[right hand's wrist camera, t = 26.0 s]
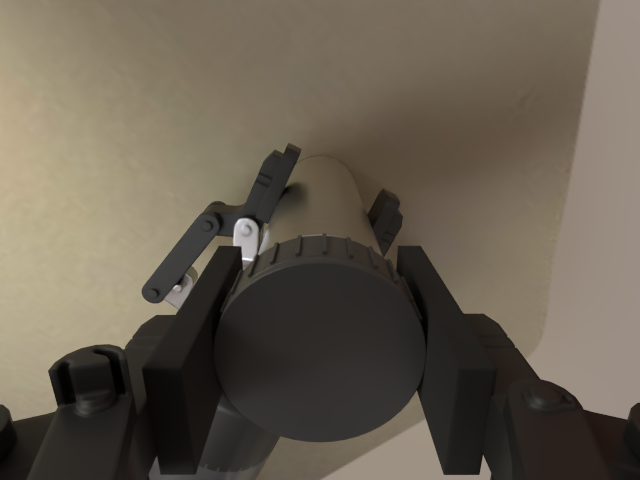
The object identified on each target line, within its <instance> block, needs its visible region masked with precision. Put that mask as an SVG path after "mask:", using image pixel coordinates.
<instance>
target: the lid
mask: <svg viewBox="0 0 640 480" xmlns="http://www.w3.org/2000/svg"><path fill="white" fill-rule="evenodd" d="M219 314H220V315H221V318H220V320H219V322H218V325H217V328H216V332H215V335H214V343H213V356H214V365H215V372H216V374H217V377H218V380H219V383H220V385H221V387H222V389H223V391H224V393H225V394H226V396H227V397H228V399H229V400H230V401H231V403H232V404H233V405H234V406H235V407H236V408H237V409H238V410H239V411H240V412H241V413H242V414H243V415H244V416H245V417H247V418H248V419H249V420H250V421H252V422H253V423H255V424H257V425H258V426H260V427H262V428H264V429H266V430H268V431H270V432H272V433H274V434H277V435H280V436H282V437H286V438H290V439H294V440H300V441H307V442H333V441H339V440H346V439H350V438H353V437H357V436H360V435H363V434H365V433H368V432H370V431H372V430H374V429H376V428H378V427H380V426H382V425H383V424H385V423H386V422H388V421H389V420H391V419H392V418H393V417H394V416H395V415H397V414H398V413H399V412H400V411H401V410H402V409H403V408H404V407H405V406H406V405H407V403H408V402H409V401H410V399H411V398H412V397H413V395H414V394H415V392H416V390H417V388H418V386H419V384H420V382H421V379H422V376H423V373H424V370H425V363H426V352H427V345H426V338H425V333H424V330H423V326H422V322H423V318H422V316H421V314H420V312H419V309H418V307H417V305H416V303H415V300H414V298H413V296H412V293H411V291H410V289H409V287H408V284H407V282H406V280H405V278H404V276H402V277H400V276H399V274H398V273H397V271H396V270H395V269H394V267H393V264H392V262H391V260H389V259H388V260H386V259H384V258H383V257H382V256H381V255H380V254H378V253H377V252H375V251H374V249H373V247H371V246H369V247H366V246H364V245H362V244H360V243H358V242H355V241H352V240H351V238H350V237H347V238H346V239H345V238H340V237H335V236H326V233H322V235H316V236H305V237H302V235H298V237H297V238H294V239H291V240H288V241H285V242H282V243H280V244H279V243H278V242H276V243H274V246H273V247H271V248H269V249H268V250H266V251H265V252H263V253H262V254H260V255H258V254H256V255H255V256H254V259H253V261H252V262H251V263H250V264H249V265H248V266H247V267H246V268H245V270H244V271H243V270H240V271H239V273H238V276H237V278H236V280H235V283H234V285H233V287H232V288H230V289H229V291H228V294H227V296H226V298H225V300H224V303H223V305H222V307H221V309H220V312H219Z"/></svg>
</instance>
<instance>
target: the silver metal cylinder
mask: <svg viewBox="0 0 640 480" xmlns="http://www.w3.org/2000/svg"><path fill="white" fill-rule="evenodd" d="M322 233H326V236H335V237H340V238H345V239H346V238H347V237H350V238H351V240H352V241H355V242H358V243H360V244H362V245H364V246H366V247H369V246H371V247H373V249H374V251H375V252H377V253H378V254H380V255H381V256H382V253H381V251H380V248H379V245H378V243H377V240H376V237H375V235H374V232H373V229H372V226H371V224H370V221H369V218H368V216H367V213H366V210H365V208H364V205H363V202H362V200H361V197H360V194H359V191H358V189H357V186H356V183H355V181H354V178H353V176H352V174H351V172H350V171H349V170H348V168H347V167H346V166H345V165H344V164H342V163H341V162H340V161H338V160H336V159H334V158H331V157H327V156H313V157H309V158H306V159H304V160H302V161H300V162H299V163H297V164H296V165H295V166H294V168H293V170H292V173H291V175H290V177H289V179H288V181H287V184H286V186H285V188H284V190H283V192H282V195H281V197H280V199H279V201H278V203H277V205H276V207H275V209H274V212H273V215H272V217H271V220H270V223H269V226H268V228H267V231H266V234H265V236H264V239H263V242H262V244H261V247H260V250H259V253H258V255H260V254H262V253H263V252H265V251H266V250H268V249H269V248H271V247H273V246H274V243H276V242H278V243H279V244H280V243H282V242H285V241H288V240H291V239H294V238H297V237H298V235H302V237H305V236H316V235H322ZM382 257H383V256H382Z"/></svg>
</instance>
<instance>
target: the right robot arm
mask: <svg viewBox="0 0 640 480" xmlns="http://www.w3.org/2000/svg"><path fill="white" fill-rule="evenodd" d="M240 270H243V260H242V246H219V247H218V249H217V250H216V252H215V253H214V255H213V257H212V258H211V260H210V261H209V263H208V265H207V266H206V268H205V269H204V271H203V272H202V274H201V276H200V277H199V279H198V280H197V282H196V284H195V285H194V287H193V288H192V290H191V291H190V293H189V295H188V296H187V298H186V299H185V301H184V303H183V304H182V306H181V307H180V309H179V310H178V312H177V314H176V315H156V316H154V317H153V318H151V319H150V320H148V321H147V322H145V323H144V324H142V325H141V326H140V328H139V329H138V330H137V332H136V333H135V334H134V336H133V339H131V340H130V341H129V342H128V344H127V345H126V346H125V349H121V348H120V347H118V346H114V345H109V344H108V345H94V346H89V347H85V348H81V349H79V350H76V351H74V352H71V353H69V354H67V355H65V356H64V357H62V358H61V359H59V360H58V361H56V362H55V363H54V365H53V366H52V367H51V368H50V369H49V370H48V372H49V376H50V379H51V383H52V387H53V390H54V394H55V398H56V402H57V405H58V408H57V410H56V412H52V413H49V414H45V415H40V416H36V417H31V418H27V419H22V420H18V421H13V420H12V417H11V414H10V411H9V410H8V409H7V408H6V407H5V406H4V405H0V480H150V478H149V472H150V470H151V468H152V466H153V463H154V461H155V459H156V457H157V458H158V464H159V469H160V475H196V473H197V469H198V466H199V463H200V460H201V457H202V454H203V451H204V448H205V444H206V441H207V438H208V435H209V432H210V429H211V426H212V423H213V419H214V416H215V413H216V410H217V407H218V404H219V401H220V397H221V394H222V391H223V389H222V387H221V385H220V383H219V380H218V377H217V374H216V372H215V365H214V356H213V343H214V335H215V332H216V328H217V325H218V322H219V320H220V318H221V315H220V314H219V312H220V309H221V307H222V305H223V303H224V300H225V298H226V296H227V294H228V291H229V289H230V288H232V287H233V285H234V283H235V280H236V278H237V276H238V273H239V271H240ZM397 273H398V274H399V276H400V277H402V276H404V278H405V280H406V282H407V284H408V287H409V289H410V291H411V293H412V296H413V298H414V300H415V303H416V305H417V307H418V309H419V312H420V314H421V316H422V318H423V322H422V326H423V330H424V333H425V338H426V345H427V352H426V363H425V370H424V373H423V376H422V379H421V382H420V384H419V386H418V388H417V392H418V395H419V398H420V401H421V405H422V408H423V411H424V414H425V417H426V420H427V423H428V426H429V430H430V432H431V436H432V439H433V442H434V445H435V448H436V451H437V455H438V458H439V461H440V464H441V467H442V470H443V473H444V475H479V474H480V468H481V462H482V457H483V455H484V457H485V460H486V462H487V464H488V466H489V469H490V471H491V478H490V480H640V403H637V404H636V405H634V406H633V407H632V408H631V410H630V413H629V416H628V419H627V420H626V419H622V418H617V417H612V416H608V415H603V414H599V413H594V412H590V411H587V410H583V407H582V406H581V404H580V403H579V401H578V400H577V399H576V397H575V396H573V395H572V394H571V393H569V392H568V391H567V390H566V389H564V388H562V387H560V386H558V385H556V384H554V383H552V382H549V381H545V380H541V379H540V378H539V377H538V376H537V374H536V373H535V372H534V370H533V369H532V368H531V366H530V365H529V364H528V362H527V361H526V360H525V358H524V357H523V356H522V354H521V353H520V352H519V350H518V349H517V348H515V345H514V344H513V342H512V341H511V340H510V338H507V334H506V333H505V332H504V330H503V329H502V328H501V326H500V325H499V324H498V323H497V322H495V321H494V320H492V319H491V318H489V317H488V316H486V315H485V314H463V312H462V311H461V309H460V308H459V306H458V305H457V303H456V301H455V300H454V298H453V297H452V295H451V293H450V292H449V290H448V289H447V287H446V286H445V284H444V282H443V281H442V279H441V278H440V276H439V274H438V273H437V271H436V270H435V268H434V267H433V265H432V263H431V262H430V260H429V259H428V257H427V255H426V254H425V252H424V251H423V249H422V248H421V246H398V257H397Z"/></svg>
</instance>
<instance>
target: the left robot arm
mask: <svg viewBox="0 0 640 480" xmlns="http://www.w3.org/2000/svg"><path fill="white" fill-rule="evenodd" d="M300 152H301V149H300V148H298V147H296V146H294V145H292V144H290V143H289V144H288V146H287V148H286V150H285V152H284V154H283V153H281V152H279V151H277V150H274V151H273V152H272V153H271V154H270V155H269V156H268V157H267V158H266V159H265V161H264V162H263V165H262V167H261V169H260V171H259V174H258V176H257V178H256V181H255V183H254V185H253V188H252V190H251V192H250V195H249V197H248V199H247V202H246V203H245V204H243V205H240V206H230V205H226V204H225V203H223V202H220V201H215V202H212V203H211V204H210V205H209V206H208V207H207V208H206V209H205V211H204V212H203V213H202V214H200V215H199V216H198V218H197V219H196V220H195V221H194V223H193V224H192V225H191V226H190V228H189V229H188V230H187V231H186V233H185V234H184V235H183V237H182V238H181V239H180V240H179V242H178V243H177V244H176V245H175V247H174V248H173V249H172V251H171V252H170V253H169V254H168V256H167V257H166V258H165V259H164V261H163V262H162V263H161V265H160V266H159V267H158V268H157V270H156V271H155V272H154V273H153V275H152V276H151V277H150V279H149V280H148V281H147V282H146V284H145V285H144V286H143V288H142V295H143V297H144V298H145V299H146V300H147V301H148V302H151V303H160V302H161V301H163V300H165V301H167V302H168V303H170V304H171V305H173V306H174V307H176V308H177V309H180V307H181V306H182V304H183V303H184V301H185V299H186V298H187V296H188V295H189V293H190V291H191V290H192V288H193V287H194V285H195V283H196V281H197V279H198V274H197V272H196V270H195V269H194V267H192V266H191V265H192V264H193V263H194V262H195V260H196V259H197V258H198V257H199V255H200V254H201V253H202V252H203V250H204V249H205V248H206V247H207V246H208V244H209V243H210V242H211V241H212V239H213V238H214V237H215V236H216V235H218V236H229V237H233V246H242V260H243V271H244V270H245V268H246V267H247V266H248V265H249V264H250V263H251V262H252V261H253V259H254V256H255V255H256V254H258V253H259V250H260V247H261V244H262V242H263V232H264V222H265V223H267V224H268V223H269V221H270V219H271V216H272V214H273V212H274V209H275V207H276V205H277V203H278V201H279V199H280V197H281V195H282V192H283V190H284V188H285V186H286V184H287V181H288V179H289V177H290V175H291V173H292V170H293V168H294V166H295V164H296V162H297V160H298V157H299V155H300ZM399 205H400V201H399V199H398V198H397V196H396V195H395V194H393V193H391V192H388V191H386V190H384V189H382V190H381V191H380V193H379V194H378V196H377V198H376V200H375V202H374V204H373V205H372V207H371V209H370V211H369V213H368V215H367V216H368V218H369V221H370V224H371V226H372V229H373V232H374V235H375V237H376V240H377V243H378V245H379V248H380V251H381V253H382V256H383V258H384V256H385V254H386V253H387V251H388V249H389V247H390V246H391V243H392V242H393V240H394V239H395V236H396V235H397V233H398V232H399V230H400V228H401V226H402V219H403V216H402V214H401V213H400V211H399V210H398V208H399ZM279 438H280V435H277V434H274V433H272V432H270V431H268V430H266V429H264V428H262V427H260V426H258V425H257V424H255V423H253V422H252V421H250V420H249V419H248V418H247V417H245V416H244V415H243V414H242V413H241V412H240V411H239V410H238V409H237V408H236V407H235V406H234V405H233V404H232V403H231V401H230V400H229V399H228V397H227V396H226V394H225V393H224V391H222V394H221V397H220V401H219V404H218V407H217V410H216V413H215V416H214V419H213V423H212V426H211V429H210V432H209V435H208V438H207V441H206V444H205V448H204V451H203V454H202V457H201V460H200V463H199V466H198V469H197V473H196V475H160V469H159V464H158V458H157V457H156V459H155V461H154V463H153V466H152V468H151V470H150V472H149V478H150V480H255V479H256V477H257V476H258V474H259V472H260V470H261V469H262V467H263V465H264V464H265V462H266V460H267V458H268V457H269V455H270V453H271V451H272V450H273V448H274V446H275V445H276V443H277V441H278V439H279Z"/></svg>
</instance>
